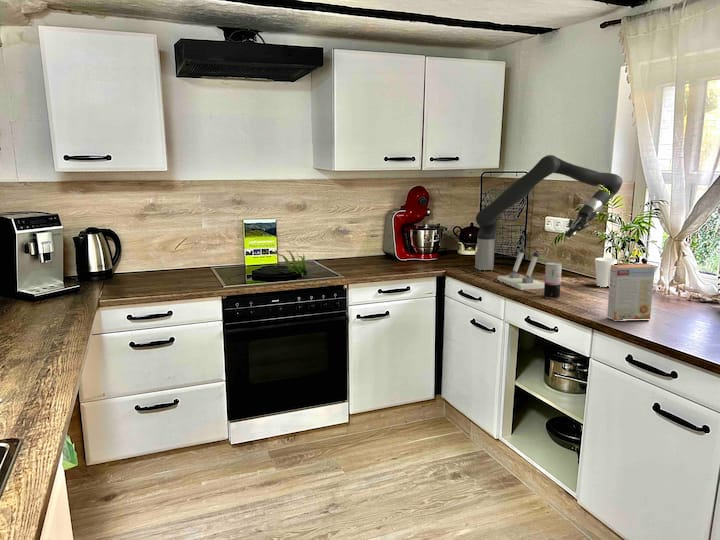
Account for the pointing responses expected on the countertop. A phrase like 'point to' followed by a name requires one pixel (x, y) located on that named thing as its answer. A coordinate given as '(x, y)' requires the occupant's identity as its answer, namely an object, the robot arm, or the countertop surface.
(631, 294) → the cracker box
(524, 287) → the switch base
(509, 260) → the countertop surface
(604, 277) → the foam cup
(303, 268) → the decorative plant
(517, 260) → the lever
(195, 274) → the countertop surface
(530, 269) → the lever
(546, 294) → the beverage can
